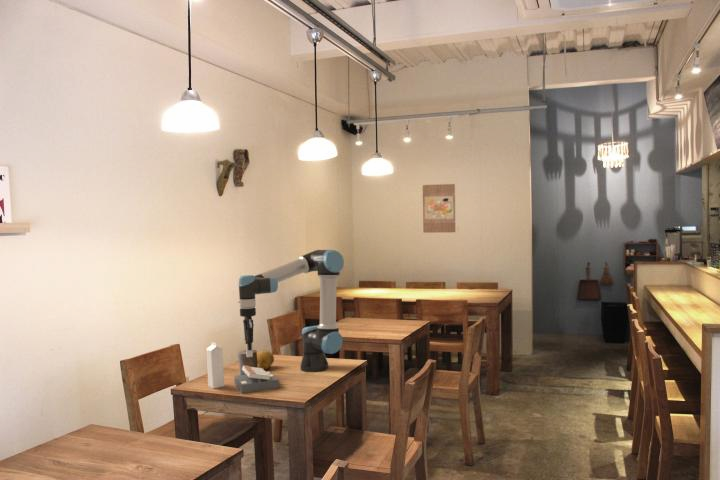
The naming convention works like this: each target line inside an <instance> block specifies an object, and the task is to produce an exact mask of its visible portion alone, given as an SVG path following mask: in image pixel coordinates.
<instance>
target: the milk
mask: <svg viewBox="0 0 720 480" xmlns="http://www.w3.org/2000/svg"><path fill="white" fill-rule="evenodd" d="M205 349H206V367H207V386H208V388H211V389H217V388H223V387H225V374H224V356H223V354H224V353H223V348H221V347H219V346H218V345H217V342H214V341H211V345H209V346H208V347H207V348H205Z"/></svg>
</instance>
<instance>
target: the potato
mask: <svg viewBox="0 0 720 480" xmlns="http://www.w3.org/2000/svg"><path fill="white" fill-rule="evenodd" d="M274 362H275V357H274V355H273V353H272V352H271V351H270V350H267V349H265V350H264V349H263V350H260V351H259V352H257V366H258V368H262V369H263V370H264V371H266V370H268V369H269V368H270V367H271V366H272V365H273V364H274Z"/></svg>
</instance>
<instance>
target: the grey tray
mask: <svg viewBox="0 0 720 480" xmlns="http://www.w3.org/2000/svg"><path fill="white" fill-rule="evenodd" d="M266 372H267V373H268V374H269V375H270V379H269V380H267V379H258V378H249V377H248V376H247V375H234V377H233V379H234V385H235V386H236V388H237V389H238V391H239V392H240V393H241V394H247V393H253V392H259V391H267V390H274V389H279V388H280V384H279V378H277V377H276V376H275V375H274V374H273V373H272V372H271V371H266Z"/></svg>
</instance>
